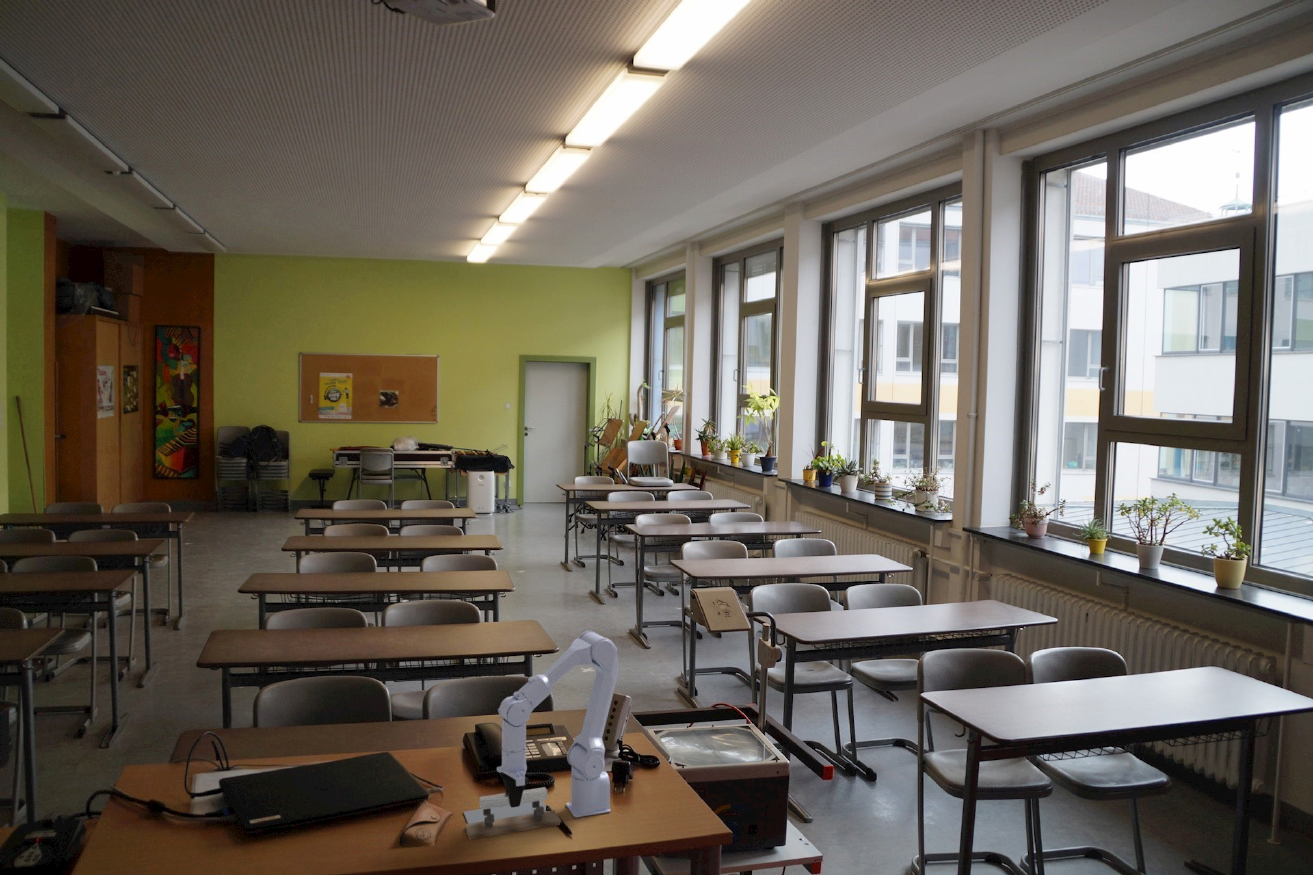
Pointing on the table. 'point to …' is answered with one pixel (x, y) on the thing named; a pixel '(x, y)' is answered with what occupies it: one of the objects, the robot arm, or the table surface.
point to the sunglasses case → (424, 826)
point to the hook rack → (512, 823)
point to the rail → (503, 799)
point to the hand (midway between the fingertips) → (513, 804)
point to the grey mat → (502, 812)
